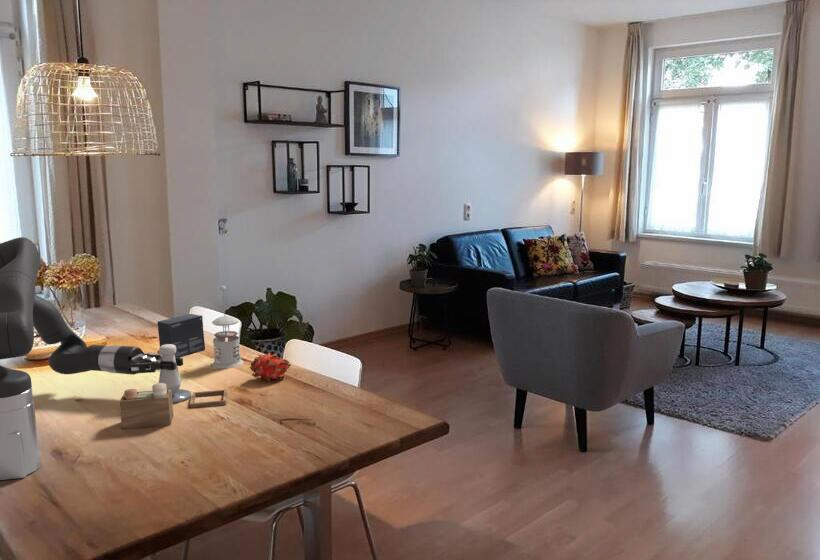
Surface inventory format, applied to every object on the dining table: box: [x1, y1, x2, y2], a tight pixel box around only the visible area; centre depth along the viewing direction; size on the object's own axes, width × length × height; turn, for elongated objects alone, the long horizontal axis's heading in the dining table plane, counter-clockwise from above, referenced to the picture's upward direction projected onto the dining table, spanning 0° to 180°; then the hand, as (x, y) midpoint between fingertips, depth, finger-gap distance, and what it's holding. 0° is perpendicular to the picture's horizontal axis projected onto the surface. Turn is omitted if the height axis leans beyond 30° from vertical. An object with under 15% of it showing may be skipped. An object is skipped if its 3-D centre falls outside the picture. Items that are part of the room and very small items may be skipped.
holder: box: [189, 389, 228, 409], centre depth 175 cm, size 9×9×1 cm
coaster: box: [172, 388, 192, 405], centre depth 177 cm, size 10×10×1 cm
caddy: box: [119, 382, 174, 430], centre depth 160 cm, size 6×11×9 cm, turn 103°
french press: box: [211, 285, 244, 369], centre depth 205 cm, size 10×12×25 cm
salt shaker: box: [158, 344, 182, 394], centre depth 176 cm, size 6×6×13 cm
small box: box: [156, 313, 206, 358], centre depth 217 cm, size 13×7×12 cm, turn 146°
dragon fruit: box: [249, 352, 292, 382], centre depth 191 cm, size 8×8×12 cm
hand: (178, 363), depth 175 cm, fingers closed on salt shaker, 3 cm apart
